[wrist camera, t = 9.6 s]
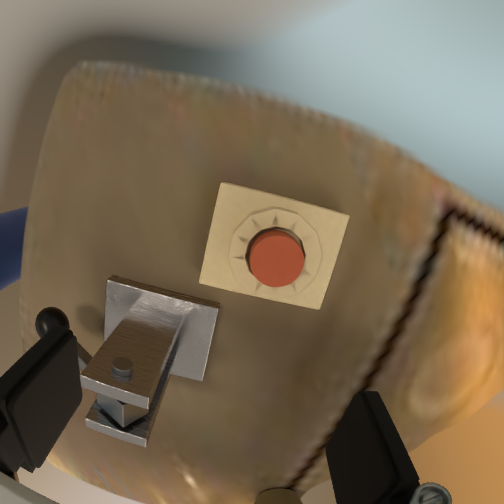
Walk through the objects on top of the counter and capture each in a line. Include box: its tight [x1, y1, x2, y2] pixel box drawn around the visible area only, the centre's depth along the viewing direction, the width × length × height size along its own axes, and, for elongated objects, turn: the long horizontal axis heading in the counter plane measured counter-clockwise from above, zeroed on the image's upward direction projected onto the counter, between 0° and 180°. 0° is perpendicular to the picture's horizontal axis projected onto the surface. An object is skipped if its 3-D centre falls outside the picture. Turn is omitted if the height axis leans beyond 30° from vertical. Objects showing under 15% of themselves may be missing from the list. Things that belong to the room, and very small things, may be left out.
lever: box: [35, 307, 149, 427], centre depth 20 cm, size 13×3×3 cm
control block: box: [199, 182, 349, 310], centre depth 24 cm, size 10×8×4 cm
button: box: [250, 230, 304, 287], centre depth 21 cm, size 4×4×2 cm
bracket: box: [80, 276, 220, 447], centre depth 22 cm, size 10×8×12 cm
